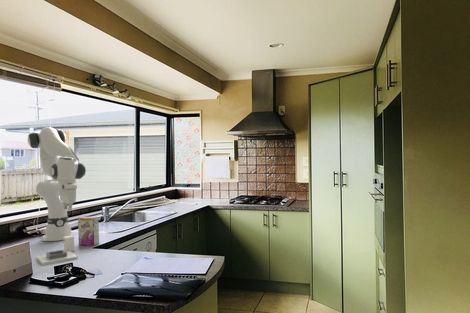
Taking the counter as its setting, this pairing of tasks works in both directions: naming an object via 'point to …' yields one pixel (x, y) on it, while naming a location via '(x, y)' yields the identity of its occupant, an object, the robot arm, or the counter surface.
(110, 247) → the counter surface
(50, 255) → the socket plate
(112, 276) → the counter surface
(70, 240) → the charger block
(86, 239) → the candy bar box
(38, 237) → the counter surface
